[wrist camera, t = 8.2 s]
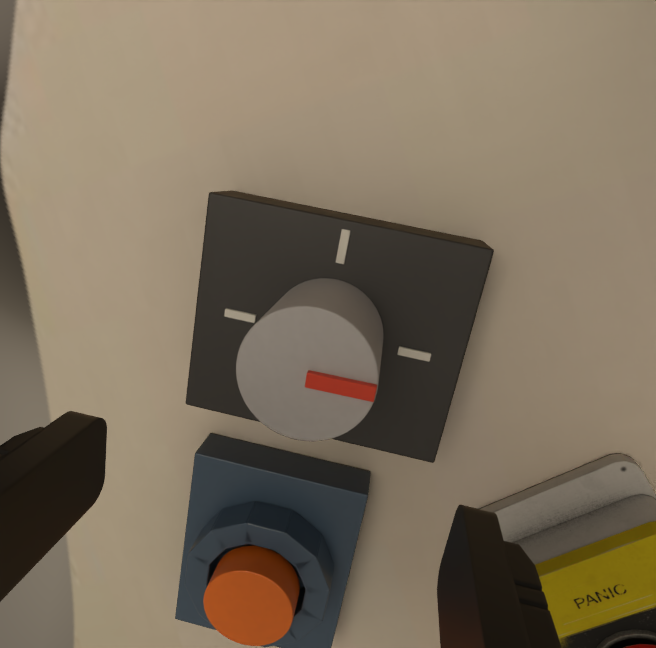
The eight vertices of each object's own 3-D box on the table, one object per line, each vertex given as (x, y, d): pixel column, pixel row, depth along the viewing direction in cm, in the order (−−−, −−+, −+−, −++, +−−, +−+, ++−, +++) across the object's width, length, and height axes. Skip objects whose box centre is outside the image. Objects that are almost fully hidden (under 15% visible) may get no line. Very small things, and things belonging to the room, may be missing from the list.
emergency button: (609, 805, 26) (466, 579, 23) (580, 717, 30) (456, 518, 27) (809, 757, 23) (673, 501, 21) (747, 669, 27) (628, 447, 25)
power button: (220, 535, 25) (208, 560, 24) (306, 557, 25) (300, 584, 23) (210, 604, 27) (198, 632, 25) (292, 626, 26) (284, 656, 25)
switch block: (210, 432, 28) (180, 472, 24) (370, 471, 27) (366, 518, 23) (189, 589, 31) (160, 647, 27) (333, 627, 31) (323, 691, 27)
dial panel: (231, 190, 24) (207, 191, 21) (483, 240, 23) (495, 250, 20) (207, 380, 27) (183, 406, 24) (430, 432, 26) (434, 465, 23)
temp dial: (263, 374, 23) (225, 429, 18) (278, 267, 22) (241, 294, 17) (371, 397, 23) (362, 460, 18) (394, 290, 21) (392, 325, 16)
